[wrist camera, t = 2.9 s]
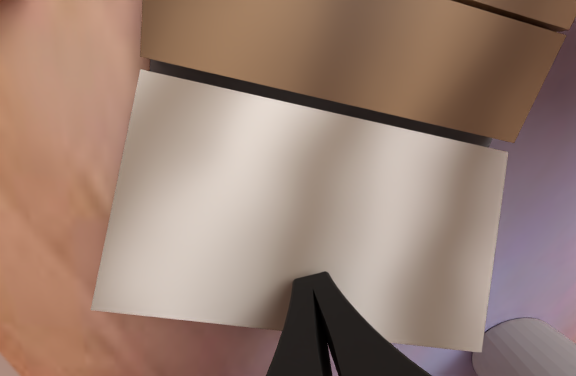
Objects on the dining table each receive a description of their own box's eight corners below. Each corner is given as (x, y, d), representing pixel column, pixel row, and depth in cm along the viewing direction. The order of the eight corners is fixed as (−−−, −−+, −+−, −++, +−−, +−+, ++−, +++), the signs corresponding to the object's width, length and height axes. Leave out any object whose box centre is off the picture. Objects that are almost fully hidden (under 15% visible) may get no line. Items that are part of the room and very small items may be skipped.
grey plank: (481, 156, 14) (508, 152, 13) (456, 335, 14) (481, 352, 12) (153, 84, 12) (140, 69, 11) (110, 295, 12) (90, 310, 10)
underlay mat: (615, -145, 11) (625, -151, 10) (417, 293, 18) (419, 297, 17) (174, -332, 8) (171, -346, 8) (142, 256, 15) (140, 259, 15)
